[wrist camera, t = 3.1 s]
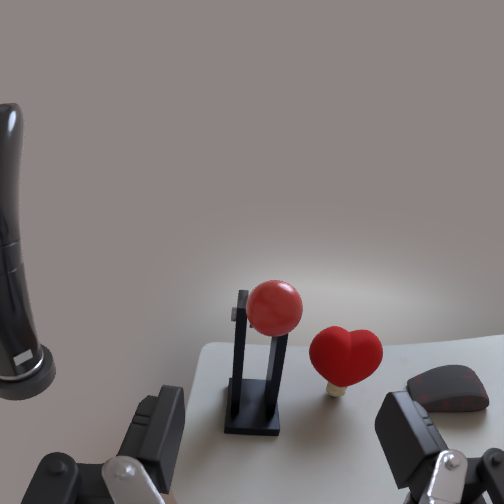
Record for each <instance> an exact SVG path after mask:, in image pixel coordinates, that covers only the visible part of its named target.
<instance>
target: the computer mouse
mask: <svg viewBox="0 0 504 504" xmlns="http://www.w3.org/2000/svg"><path fill="white" fill-rule="evenodd" d="M407 385H408V389H409V393H410V397H411V399H412V401H416V402H418V403H419V404H420V405H421V406H422V407H424V408H425V410H426V411H477V410H481V409H484V408H486V407H488V405H489V398H488V396H487V393H486V391H485V388H484V386H483V384H482V383H481V381H480V379H479V378H478V376H477V375H476V374H475V372H474V371H473V370H472V369H470V368H468V367H466V366H462V365H446V366H441V367H437V368H434V369H431V370H429V371H426V372H424V373H422V374H420V375H417V376H415V377H413V378H411V379H409V380H408V382H407Z"/></svg>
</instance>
